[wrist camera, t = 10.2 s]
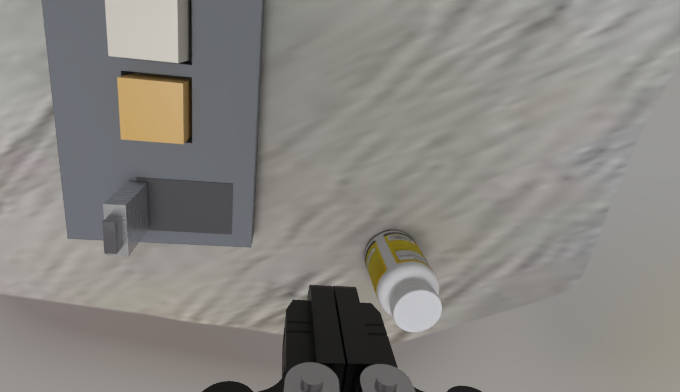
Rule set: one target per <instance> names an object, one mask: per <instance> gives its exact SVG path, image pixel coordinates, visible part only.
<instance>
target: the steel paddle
mask: <svg viewBox="0 0 680 392" xmlns="http://www.w3.org/2000/svg"><path fill="white" fill-rule="evenodd" d="M103 213H104V220H103V222H102V226H103V238H104V251H105V254H107V255H108V256H129V255H130V254H131V252H132V251H133V250H134V248H135V247H136V245H137V244H138V243H139V241H140V240H141V238H142V237H143V236H144V234H145V233H146V231H147V230H148V229H149V216H148V191H147V183H145V182H130V181H127V182H126V183H125V184H124V185H123V186H122V187H121V188H120V189H119V190H118V191H116V192H115V193H114V194H113V195H112V196H111V197H110V198H109V199H108V200H107V201H106V202H104V203H103Z"/></svg>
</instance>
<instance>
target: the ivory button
mask: <svg viewBox="0 0 680 392" xmlns="http://www.w3.org/2000/svg"><path fill="white" fill-rule="evenodd" d="M105 12H106V27H107V42H108V56H112V57H122V58H132V59H142V60H152V61H161V62H171V63H181V62H184V61H188V60H191V52H190V0H105Z"/></svg>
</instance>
